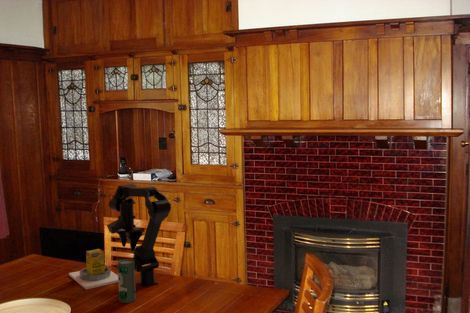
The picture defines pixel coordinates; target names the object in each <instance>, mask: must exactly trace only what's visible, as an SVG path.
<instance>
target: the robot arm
mask: <svg viewBox="0 0 470 313" xmlns="http://www.w3.org/2000/svg"><path fill="white" fill-rule="evenodd" d="M134 197H135V198H137V197H138V198H144V199H145V201H144V202H145V203H144V206H145V207H146V209H147V213H148V217H149V220H148V223H147V226H146V230H145V234H143V232H144V231H143V230H142V228H139V227H136V226H137V225H136V224H135V219H136V215H135V214H134V205H135V204H136V201H135V200H134V199H133V198H134ZM153 197H154V198H155V199H156V200H154V201H153V200H152V201H151V199H150V198H153ZM171 205H172V204H171V202H170V200H169V199H168V198H167V196H166V195H165V194H163V193H161V192H160V191H159V190H158V188H156V187H155V186H150V187H149V186H146V187H145V186H137V185H136V184H133V183H129V184H120V185H118V186H117V188H116V190H115V192H114V195H112V198H111V199H110V200H109V203H108V207H109V209H110V210H112V211H114V212H118V213H119V215H118V217H117V219H116V220H113V221H112V222H110V223H108V224H107V225H106V227H107V229H108V232H109V233H111V234H117V235H118V237H119V240H120V242H121V246H122V248H123V247H124V248H125V247H126V245H127V242H128V241H129V248H130V252H133V258H132V260H134V261H135V272H138V273H139V278H140V280H139V281H137V284H139V285H140V286H141V287H143V288H144V287H149V286H154V285H158V281H156V280H155V269H159V267H160V262H159V261H158V259H157V257H156V252H155V249H154V247H155V244H156V242H157V238H158V235H159V232H160V229H161V226H162V222H163V221H165V220H166V218H168V216H169V214H170V213H171V209H172V206H171ZM143 235H144V237H143V240H142V243H141V244H140V245H137V244H138V242H139V240H140V238H141V237H142V236H143ZM127 240H128V241H127Z"/></svg>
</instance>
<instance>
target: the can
mask: <svg viewBox="0 0 470 313" xmlns="http://www.w3.org/2000/svg"><path fill="white" fill-rule="evenodd" d="M117 275H118V282H117V283H118V284H117V285H118V301H119V302H120V303H122V304H125V303H126V304H129V303H133V302H135V301H136V300H137V291H136V290H137V288H136V270H135V261H134V260H133V259H121V260H119V261H117Z"/></svg>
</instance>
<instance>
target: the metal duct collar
mask: <svg viewBox="0 0 470 313" xmlns="http://www.w3.org/2000/svg"><path fill="white" fill-rule="evenodd" d="M79 271H80V278H81V279H82V280H85V281H98V280H102V279H106V278H108V277H110V275H111V271H112V270H111V267H109V266H106V265H105V272H104V273H100V274H87V267H84V268H82V269H81V270H79Z"/></svg>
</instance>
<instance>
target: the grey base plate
mask: <svg viewBox="0 0 470 313" xmlns="http://www.w3.org/2000/svg"><path fill="white" fill-rule="evenodd" d="M80 271H81V270H79V271H72V272H68V276H69V277H70V278H72V279H73V280H74V281H75V282H76V283H77V284H79V285H80V286H81V287H82V288H83V289H85V290H89V289H95V288H99V287H104V286H107V285H112V284H116V283H118V274H116V273H115V272H113V271H112V270H111V275H110V277H108V278H106V279H102V280H98V281H85V280H82V279H81V278H80Z"/></svg>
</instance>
